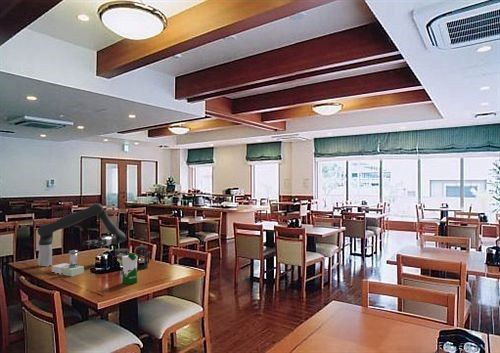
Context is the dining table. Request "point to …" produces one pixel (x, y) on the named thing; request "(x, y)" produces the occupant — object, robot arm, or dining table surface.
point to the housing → (73, 258)
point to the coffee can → (121, 254)
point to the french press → (141, 265)
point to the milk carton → (129, 268)
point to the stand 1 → (59, 268)
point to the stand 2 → (73, 271)
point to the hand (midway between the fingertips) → (86, 244)
